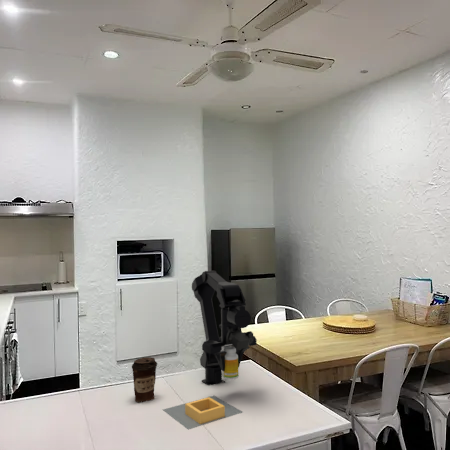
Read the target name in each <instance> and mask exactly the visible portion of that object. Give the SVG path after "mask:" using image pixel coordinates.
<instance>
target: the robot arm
mask: <svg viewBox="0 0 450 450" xmlns="http://www.w3.org/2000/svg"><path fill="white" fill-rule="evenodd" d="M191 290H192V292H193V295H194V298H195V299H196V300H197V301H198V302H199V305H200V311H201V316H202V323H203V329H204V335H205V341H203V343H202V344H201V347H202V348H201V351H202V353H201V357H200V358H199V362H200V366H201V367H202V368H203V369H204V371H205V372H204V374H205V377H204V379H201V382H202V383H204V384H206V385H208V386H214V385H218V384H222V383H223V384H225V383H226V380H224V379H223V376H222V371H225V355H226V353H227V352H225V351H224V348H225V347H228V346H233V347H235V348H236V354H237V355H238V369H239V368H240V365H241V363H242V359H243V356H244V354H245V352H246V351H247V350H248V349H250V347H252V346H257V341H258V340H257V338H256V336H255V335H254V332H253V331H250V330H249V331H245V332H242V329H245V328H247V327H249V325H250V323H251V320H252V316H251V314H250V312H249V311H248V310H246V305H247V304H246V298H245V296H244V294H243V291H242V289H241V286H240V285H239V284H237V283H236V282H230V281H226V279H224V278H223V277H222V276H221V275H220V274H218V273H217V271H216V270H205V271H203V272H202V273H201V274H200V275H198V276H196V277H195V278H194V279H193V281H192V283H191ZM215 292H216V297H217V299H218V302H219V303H220V304H219V307H220V324H219V325H217V321H216V316H215V309H214V303H213V297H214V294H215ZM217 326H218V327H217ZM218 328H219V329H220V330H221V332H220V333H221V336H219V331H218Z"/></svg>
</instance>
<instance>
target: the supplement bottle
mask: <svg viewBox="0 0 450 450" xmlns="http://www.w3.org/2000/svg"><path fill="white" fill-rule="evenodd" d="M224 351H225V352H227V353H226V355H225V371H222V379H225V380H236V379H238V378H239V368H238V355H237V354H236V348H235V347H233V346H228V347H225V348H224Z"/></svg>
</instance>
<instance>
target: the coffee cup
mask: <svg viewBox="0 0 450 450" xmlns="http://www.w3.org/2000/svg"><path fill="white" fill-rule="evenodd" d="M157 366H158V362H157V361H156V358H155V357H146V356H145V357H141V358H137V359H135V360H134V361H133V363H132V365H131V369H132V379H133V390H134V391H133V393H134V401H135V402H137V403H145V402H150V401H153V400H155V384H156V379H157V378H156V375H157V374H156V372H157Z"/></svg>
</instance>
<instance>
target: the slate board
mask: <svg viewBox="0 0 450 450" xmlns="http://www.w3.org/2000/svg"><path fill="white" fill-rule="evenodd" d="M208 397H210V398H211V399H213V400H215V401H217V402H218V403H220V404H222V405H223V406H225V417H222V418H218V419H215V420H212V421H209V422H206V423H203V424H199V423H198V422H196V421H195V420H193V419H192V418H190V417H189V416H188V415H186V414H185V404H186V403H187V402H185V403H183V404H179V405H174V406H172V407H167V408H163V409H162V411H163V412H165V413H166V414H167V415H168V416H169V417H171V418H172V419H174V420H175V421H176V422H178V423H179V424H180V425H182V426H183V427H184V428H185V429H186V430H192V429H195V428H199V427H201V426H204V425H208V424H210V423H213V422H216V421H219V420H224V419H226V418H229V417H233V416H236V415H239V414H242V413H243V411H242V410H240V409H239V408H237V407H235V406H234V405H231V404H230V403H228V402H226V401H224V400H223V399H222V398H219V397H218V396H215V395H211V396H208ZM208 397H206V398H208ZM204 398H205V397H204ZM204 398H201V399H204ZM201 399H199V400H201ZM197 400H198V399H196V400H195V401H197ZM193 401H194V400H193ZM193 401H189V402H188V403H190V402H193ZM206 410H208V409H206ZM202 411H204V410H202Z"/></svg>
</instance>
